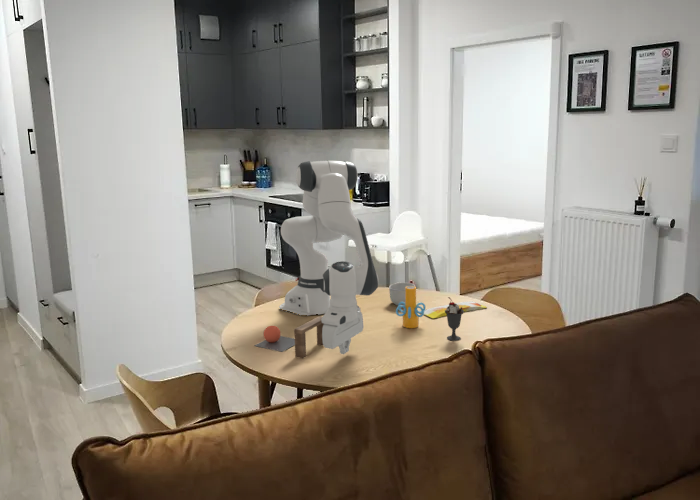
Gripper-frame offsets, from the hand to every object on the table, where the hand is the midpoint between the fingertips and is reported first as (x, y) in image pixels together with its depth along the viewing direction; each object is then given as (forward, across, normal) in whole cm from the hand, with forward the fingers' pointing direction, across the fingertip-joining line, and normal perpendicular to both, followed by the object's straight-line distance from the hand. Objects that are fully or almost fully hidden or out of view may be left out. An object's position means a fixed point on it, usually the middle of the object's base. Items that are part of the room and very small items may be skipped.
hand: (344, 352), depth 204 cm
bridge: (+2, 0, -13) cm, 13 cm away
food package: (+3, -63, +13) cm, 64 cm away
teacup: (+2, -63, -10) cm, 64 cm away
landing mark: (+2, 0, -27) cm, 27 cm away
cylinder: (+2, -38, +6) cm, 39 cm away
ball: (-1, 0, -30) cm, 30 cm away
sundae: (+2, -33, +25) cm, 41 cm away
